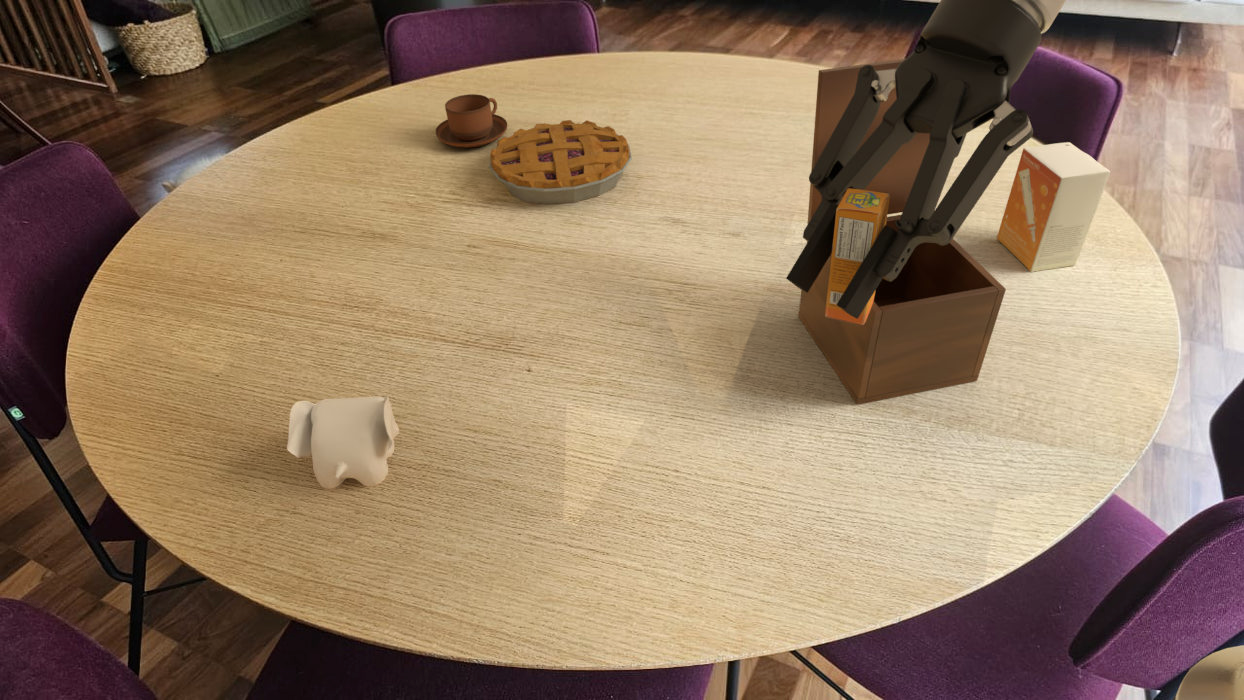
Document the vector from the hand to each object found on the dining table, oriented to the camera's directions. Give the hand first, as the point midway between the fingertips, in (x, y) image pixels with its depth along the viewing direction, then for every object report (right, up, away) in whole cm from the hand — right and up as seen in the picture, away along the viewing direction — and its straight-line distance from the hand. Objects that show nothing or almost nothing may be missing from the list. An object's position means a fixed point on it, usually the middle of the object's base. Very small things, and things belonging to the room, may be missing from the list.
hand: (821, 298), depth 60 cm
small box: (+38, +8, +43) cm, 58 cm away
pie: (-24, +23, +65) cm, 73 cm away
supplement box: (+3, -1, +4) cm, 5 cm away
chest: (+14, -3, +30) cm, 33 cm away
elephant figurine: (-40, -15, +20) cm, 47 cm away
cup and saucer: (-40, +32, +77) cm, 92 cm away
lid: (+11, +17, +23) cm, 31 cm away
